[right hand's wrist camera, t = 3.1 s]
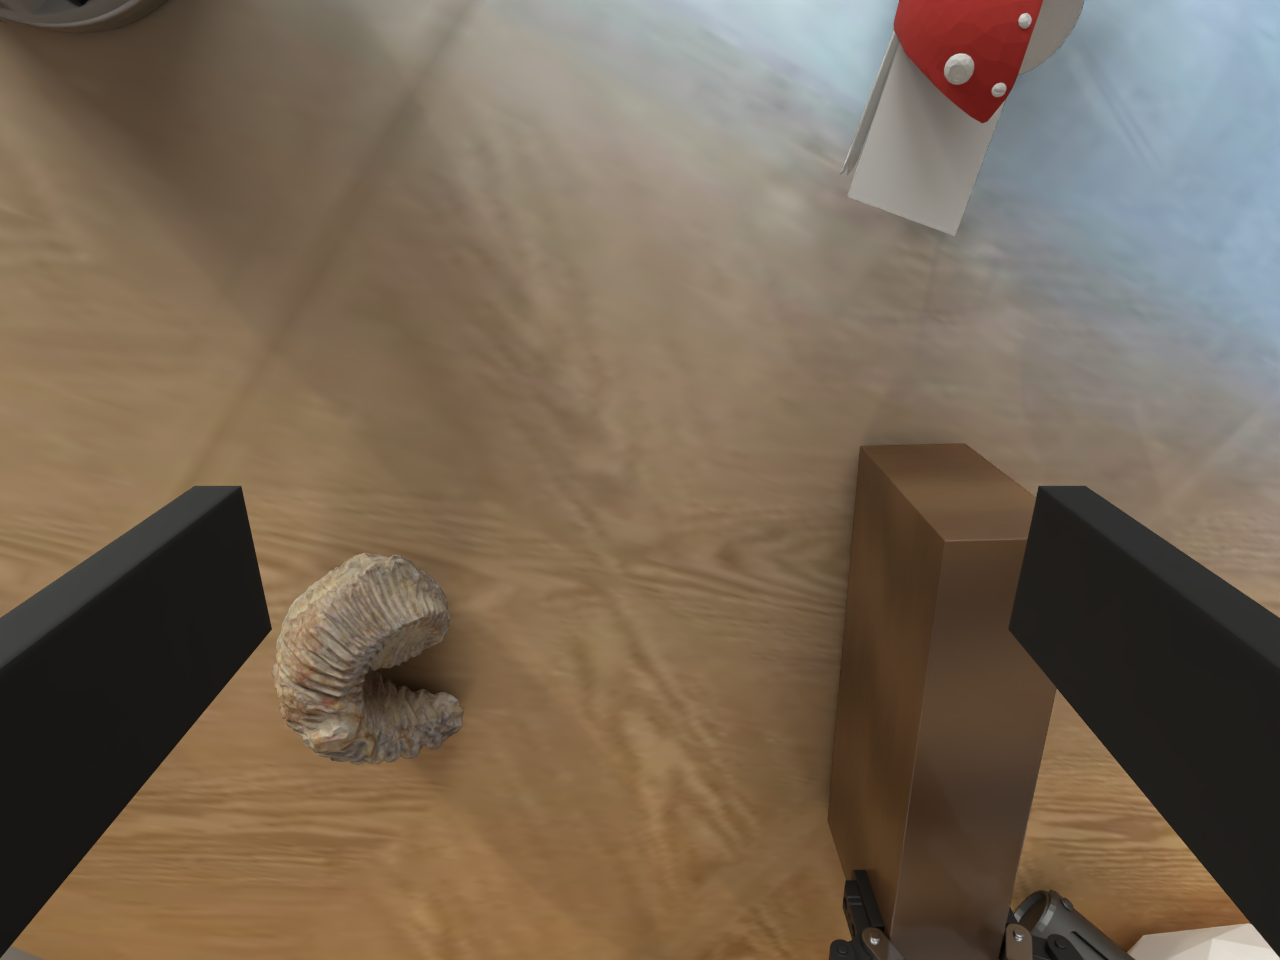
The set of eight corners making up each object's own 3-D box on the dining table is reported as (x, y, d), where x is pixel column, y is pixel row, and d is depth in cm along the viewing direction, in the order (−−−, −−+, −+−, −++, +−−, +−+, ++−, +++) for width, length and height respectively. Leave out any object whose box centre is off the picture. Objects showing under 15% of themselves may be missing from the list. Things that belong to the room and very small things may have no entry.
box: (859, 445, 41) (944, 540, 30) (965, 443, 41) (1089, 537, 29) (827, 820, 50) (882, 997, 39) (912, 818, 50) (991, 994, 39)
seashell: (403, 493, 46) (270, 528, 37) (533, 577, 44) (424, 637, 34) (342, 664, 50) (208, 733, 41) (457, 750, 48) (341, 844, 39)
